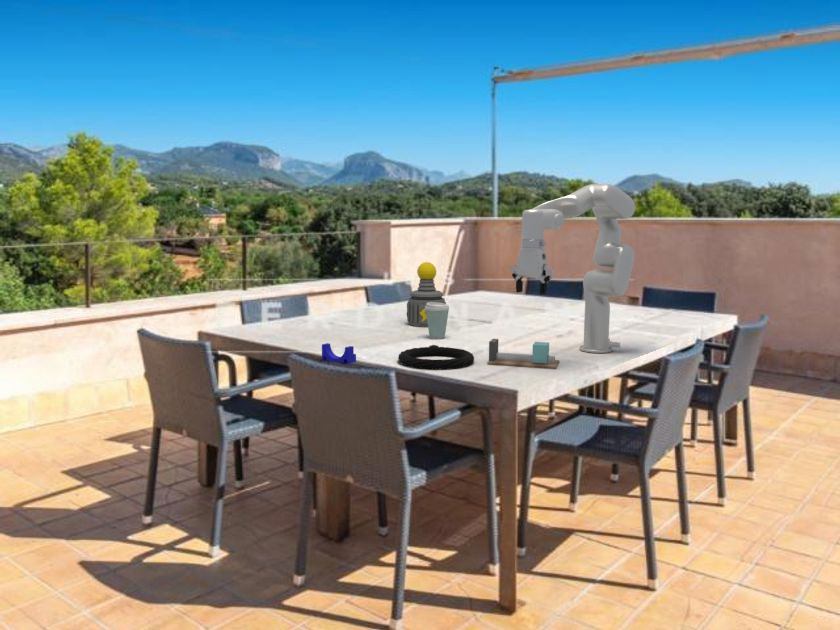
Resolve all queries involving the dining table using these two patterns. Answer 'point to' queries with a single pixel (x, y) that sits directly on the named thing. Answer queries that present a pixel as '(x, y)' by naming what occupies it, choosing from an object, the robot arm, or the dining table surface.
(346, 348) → the cable clip
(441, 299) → the decorative lamp
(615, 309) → the dining table surface
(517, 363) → the board
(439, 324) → the disposable coffee cup
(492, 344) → the stop
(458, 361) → the cable lock
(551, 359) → the rail
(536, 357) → the slider
